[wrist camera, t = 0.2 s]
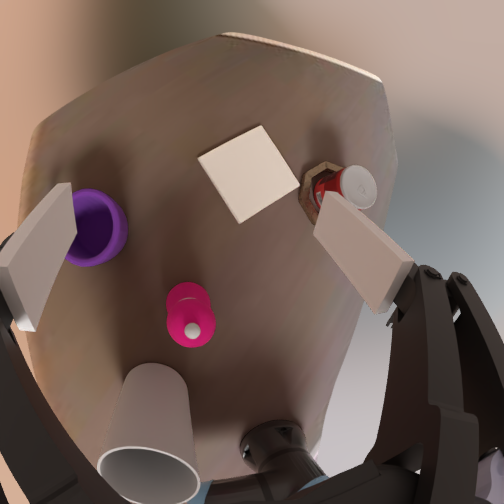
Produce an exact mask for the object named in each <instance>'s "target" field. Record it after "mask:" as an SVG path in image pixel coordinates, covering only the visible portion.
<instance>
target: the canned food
mask: <svg viewBox="0 0 504 504" xmlns="http://www.w3.org/2000/svg"><path fill="white" fill-rule="evenodd" d="M325 191H332V192H337V193H339V194H340V195H341V196H342V197H344V198H345V199H346V200H347V201H348V202H350V203H351V204H352V205H353V206H354V207H356V208H357V209H358V210H363V209H366V208H369V207H370V206H372V205H373V204H374V202H375V200H376V197H377V186H376V183H375V180H374V178H373V176H372V175H371V173H370V172H369V171H368V170H367V169H366V168H364V167H362V166H360V165H351V166H348V167H345V168H343V169H341V170H339V171H337V172H334V173H332V174H330V175H328V176H326V177H324V178H322V179H320V180H319V181H318V182H317V184H316V185H315V188H314V200H315V202H316V204H317V206H318V207H319V208H321V205H322V201H323V198H324V194H325Z"/></svg>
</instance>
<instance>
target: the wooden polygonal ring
mask: <svg viewBox="0 0 504 504" xmlns="http://www.w3.org/2000/svg"><path fill="white" fill-rule="evenodd" d="M341 169H343V167H340V166H338V165H335V164H333V163H330V162H327V161H325V162H323V163H321V164H319V165H318V166H316V167H314V168H312V169H311V170H309V171H307V172H306V173H304V174H303V175H302V181H301V187H300V193H299V198H298V200H299V203H300V204H301V206H302V208H303V209H304V211H305V213H306V214H307V216H308V218H309V219H310V221H311V223H312V224H313V225H316V222H317V219H318V213H317V211H316V210H315V208H314V206H313V205H312V203H311V201H310V200H309V193H310V187H311V180H312V177H313V176H315V175H317V174H318V173H320V172H321V171H323V170H325V171H328V172H331V173H334V172H337V171H339V170H341Z"/></svg>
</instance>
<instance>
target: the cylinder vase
mask: <svg viewBox="0 0 504 504" xmlns="http://www.w3.org/2000/svg"><path fill="white" fill-rule="evenodd" d="M97 470H98V473H99V474H100V475H101V476H102V477H103V478H104V479H105V480H106V482H107V483H108V484H109V485H110V486H111V487H112V488H113V489H114V490H115V491H116V492H117V493H118V494H120V495H121V496H122V497H123V498H125V499H127V500H129V501H131V502H134V503H137V504H182V503H185V502H187V501H189V500H191V499H192V498H193V497H194V496H195V495H196V494H197V493H198V491H199V489H200V477H199V471H198V465H197V459H196V453H195V446H194V439H193V431H192V424H191V415H190V407H189V397H188V389H187V386H186V383H185V381H184V380H183V378H182V377H181V376H180V375H179V374H178V373H177V372H176V371H175V370H173V369H172V368H170V367H168V366H166V365H163V364H158V363H145V364H141V365H138V366H136V367H135V368H133V369H132V370H131V371H130V372H129V373H128V375H127V376H126V378H125V381H124V384H123V386H122V389H121V392H120V395H119V398H118V400H117V403H116V406H115V409H114V412H113V415H112V418H111V421H110V424H109V427H108V430H107V434H106V437H105V440H104V443H103V447H102V450H101V453H100V457H99V460H98V464H97Z"/></svg>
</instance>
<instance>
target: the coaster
mask: <svg viewBox="0 0 504 504" xmlns="http://www.w3.org/2000/svg"><path fill="white" fill-rule="evenodd" d="M198 161H199V163H200V164H201V166H202V167H203V169H204V171H205V172H206V174H207V175H208V177H209V178H210V180H211V181H212V183H213V185H214V186H215V188H216V189H217V191H218V192H219V194H220V196H221V197H222V199H223V200H224V202H225V203H226V205H227V207H228V208H229V210H230V211H231V213H232V214H233V216H234V218H235V219H236V221H237V222H238V224H240V223H242V222H243V221H245V220H247V219H248V218H250V217H251V216H253V215H254V214H256V213H257V212H259V211H261V210H262V209H264V208H265V207H267V206H268V205H270V204H272V203H273V202H275V201H276V200H278V199H280V198H281V197H283V196H284V195H286V194H287V193H289V192H291V191H292V190H294V189H295V188H297V187H299V186H300V184H299V182H298V181H297V179H296V178H295V176H294V174H293V173H292V171H291V170H290V168H289V166H288V165H287V163H286V162H285V160H284V159H283V157H282V156H281V154H280V153H279V151H278V149H277V148H276V146H275V145H274V143H273V142H272V140H271V139H270V137H269V136H268V134H267V133H266V132H265V130H264V129H263V127H262V126H259V127H256V128H254V129H252V130H250V131H248V132H246V133H244V134H242V135H240V136H238V137H236V138H234V139H232V140H230V141H228V142H226V143H225V144H223V145H221V146H219V147H217V148H215V149H213V150H212V151H210V152H208V153H206V154H204V155H202V156H201V157H199V158H198Z"/></svg>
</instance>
